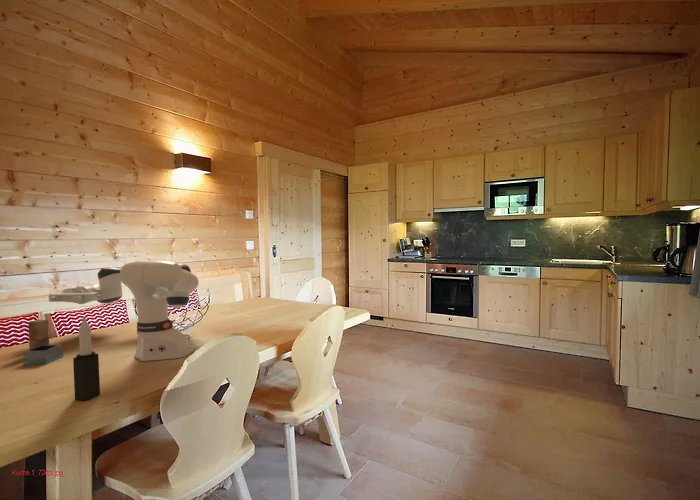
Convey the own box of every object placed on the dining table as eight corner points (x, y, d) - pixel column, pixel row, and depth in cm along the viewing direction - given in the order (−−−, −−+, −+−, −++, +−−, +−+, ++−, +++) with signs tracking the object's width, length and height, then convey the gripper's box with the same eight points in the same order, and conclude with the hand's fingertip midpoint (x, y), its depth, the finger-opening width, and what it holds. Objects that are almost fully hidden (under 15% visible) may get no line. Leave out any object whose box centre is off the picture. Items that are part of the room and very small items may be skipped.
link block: (49, 351, 153) (48, 319, 153) (40, 355, 149) (39, 322, 148) (38, 351, 153) (37, 319, 152) (29, 355, 148) (28, 322, 148)
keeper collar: (63, 356, 147) (62, 344, 146) (46, 363, 138) (45, 351, 138) (42, 356, 146) (41, 344, 146) (23, 364, 138) (23, 351, 137)
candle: (86, 401, 106) (83, 318, 105) (72, 400, 107) (69, 318, 106) (101, 393, 111) (98, 314, 110) (88, 392, 112) (85, 314, 111)
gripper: (104, 300, 177) (84, 306, 164) (62, 301, 177) (39, 306, 163) (104, 288, 177) (84, 292, 163) (62, 288, 177) (38, 293, 163)
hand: (61, 299), depth 163 cm, fingers open, 8 cm apart
